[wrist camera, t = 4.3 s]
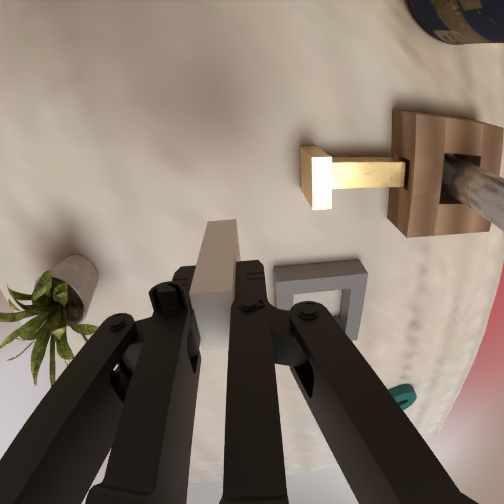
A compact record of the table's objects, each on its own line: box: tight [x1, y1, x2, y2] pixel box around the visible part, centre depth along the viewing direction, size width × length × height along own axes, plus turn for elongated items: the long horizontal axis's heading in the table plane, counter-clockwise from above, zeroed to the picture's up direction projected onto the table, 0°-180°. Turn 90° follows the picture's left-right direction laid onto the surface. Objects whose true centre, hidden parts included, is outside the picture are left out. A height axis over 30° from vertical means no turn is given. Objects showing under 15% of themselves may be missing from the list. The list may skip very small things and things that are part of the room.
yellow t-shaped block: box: [300, 146, 405, 210], centre depth 27 cm, size 10×4×6 cm, turn 94°
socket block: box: [387, 110, 504, 238], centre depth 27 cm, size 12×12×5 cm
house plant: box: [0, 254, 99, 387], centre depth 28 cm, size 14×14×16 cm
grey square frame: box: [274, 260, 368, 341], centre depth 36 cm, size 10×10×3 cm
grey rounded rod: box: [441, 153, 504, 231], centre depth 22 cm, size 4×4×16 cm
